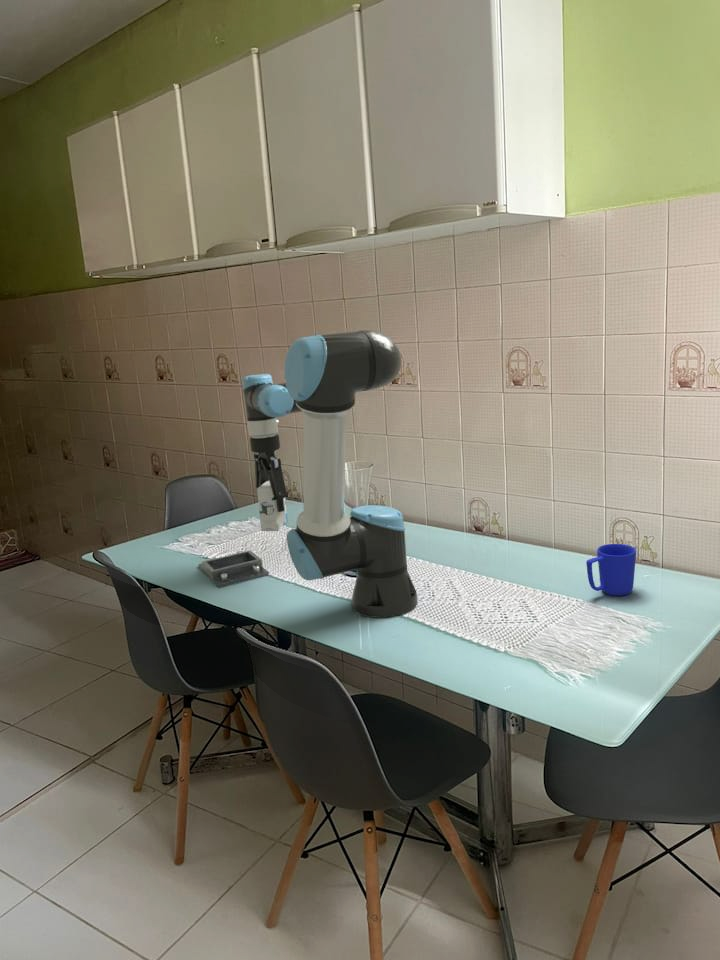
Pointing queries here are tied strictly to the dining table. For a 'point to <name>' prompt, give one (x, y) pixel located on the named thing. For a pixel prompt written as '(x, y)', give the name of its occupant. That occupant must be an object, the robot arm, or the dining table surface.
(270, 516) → the ink box
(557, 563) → the dining table surface
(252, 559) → the tray
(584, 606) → the dining table surface
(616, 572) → the mug
